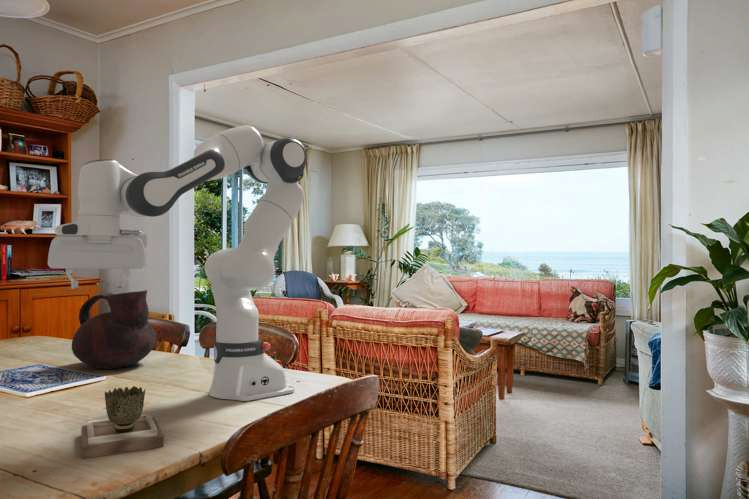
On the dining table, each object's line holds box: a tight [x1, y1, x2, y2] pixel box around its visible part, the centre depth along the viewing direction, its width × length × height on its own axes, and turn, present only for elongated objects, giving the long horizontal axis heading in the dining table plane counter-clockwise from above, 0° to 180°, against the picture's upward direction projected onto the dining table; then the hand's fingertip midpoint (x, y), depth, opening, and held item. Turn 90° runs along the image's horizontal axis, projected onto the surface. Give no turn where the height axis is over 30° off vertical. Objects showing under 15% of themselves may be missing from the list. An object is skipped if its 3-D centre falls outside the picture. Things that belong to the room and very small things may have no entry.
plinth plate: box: [80, 413, 165, 459], centre depth 109 cm, size 14×14×3 cm
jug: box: [71, 289, 157, 370], centre depth 180 cm, size 25×25×25 cm
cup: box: [104, 385, 146, 432], centre depth 109 cm, size 8×7×8 cm
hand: (97, 288), depth 126 cm, fingers open, 8 cm apart
